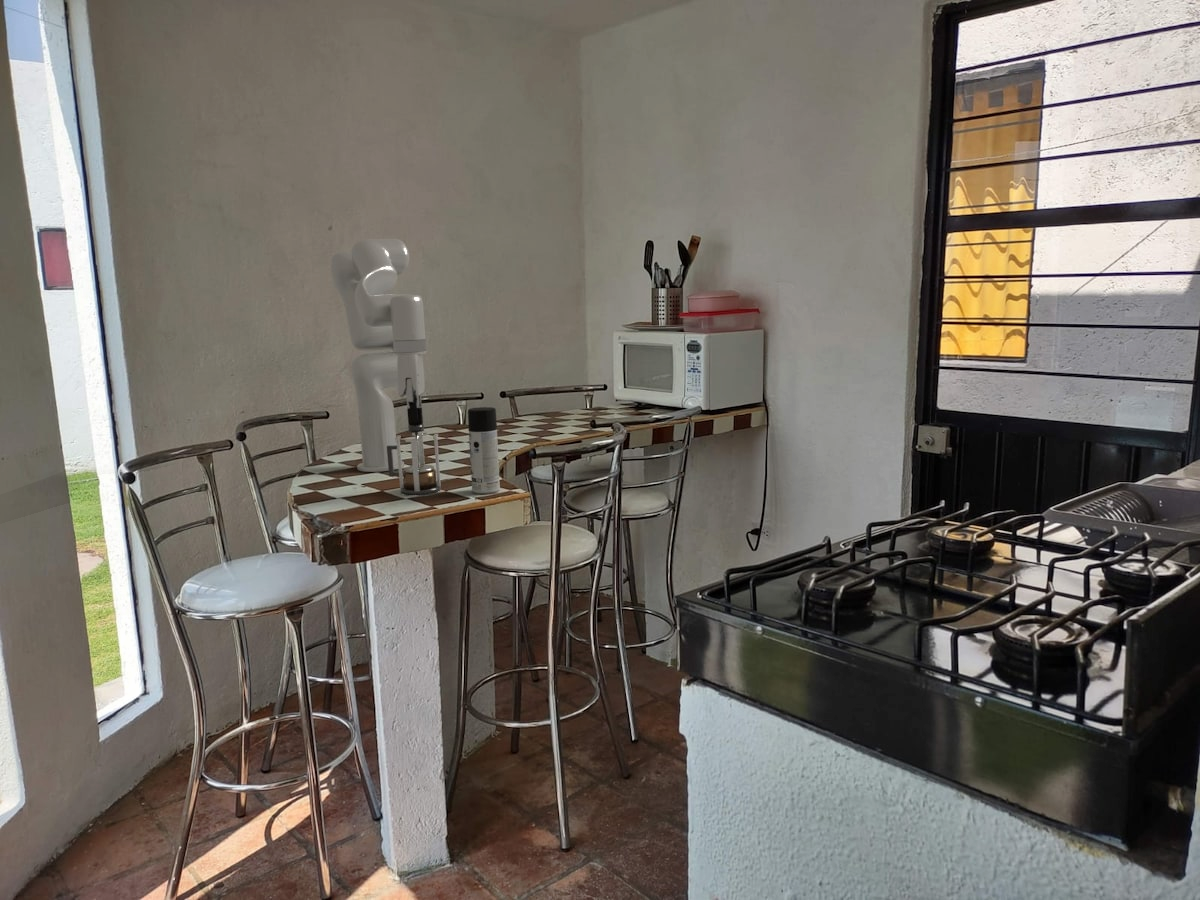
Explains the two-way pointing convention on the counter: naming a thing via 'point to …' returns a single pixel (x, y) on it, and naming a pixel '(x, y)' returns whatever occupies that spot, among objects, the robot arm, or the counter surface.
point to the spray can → (483, 450)
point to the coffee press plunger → (421, 467)
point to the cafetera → (415, 468)
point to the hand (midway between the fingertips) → (415, 424)
